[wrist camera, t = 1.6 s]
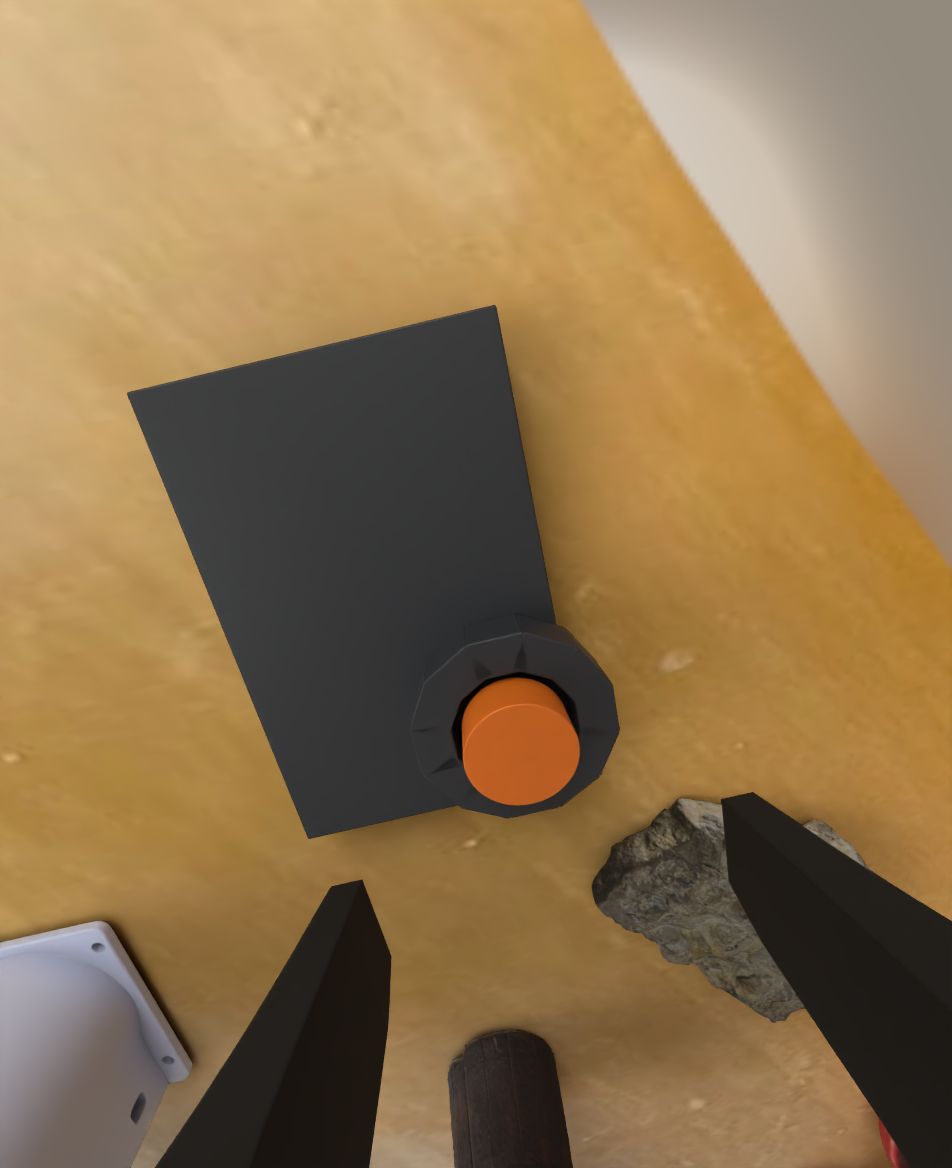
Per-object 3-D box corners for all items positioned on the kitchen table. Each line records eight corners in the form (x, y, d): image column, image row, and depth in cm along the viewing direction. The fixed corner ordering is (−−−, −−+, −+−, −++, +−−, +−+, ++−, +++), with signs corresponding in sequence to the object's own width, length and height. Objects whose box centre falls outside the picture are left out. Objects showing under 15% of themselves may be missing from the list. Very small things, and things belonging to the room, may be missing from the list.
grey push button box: (598, 738, 18) (631, 804, 14) (322, 801, 18) (292, 880, 15) (524, 315, 14) (548, 270, 10) (168, 400, 14) (76, 382, 10)
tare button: (574, 757, 14) (588, 791, 13) (474, 779, 14) (477, 817, 13) (556, 666, 13) (570, 692, 12) (450, 690, 13) (450, 719, 12)
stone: (569, 881, 19) (591, 951, 17) (703, 735, 18) (752, 786, 15) (788, 1002, 22) (838, 1079, 20) (918, 885, 21) (992, 950, 18)
